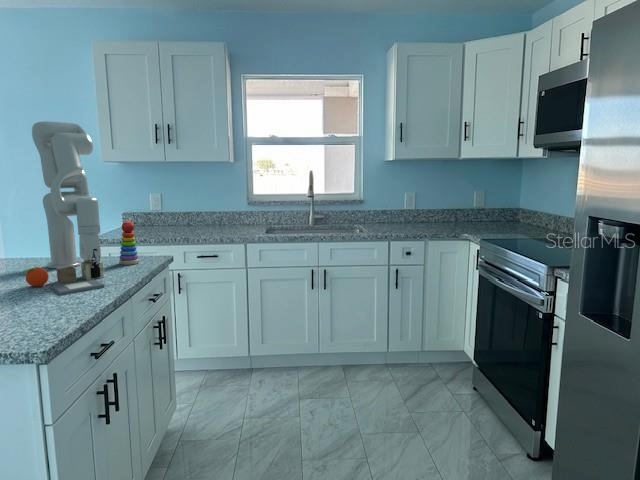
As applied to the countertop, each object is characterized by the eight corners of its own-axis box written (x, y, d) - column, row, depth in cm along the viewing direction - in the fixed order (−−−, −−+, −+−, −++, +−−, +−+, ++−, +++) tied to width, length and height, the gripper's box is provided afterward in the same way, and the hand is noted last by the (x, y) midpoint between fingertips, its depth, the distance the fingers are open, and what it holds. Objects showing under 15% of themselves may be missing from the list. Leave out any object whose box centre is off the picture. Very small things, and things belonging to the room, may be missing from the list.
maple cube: (82, 277, 171) (80, 262, 170) (98, 274, 175) (97, 259, 174) (87, 280, 167) (85, 264, 166) (103, 277, 171) (102, 262, 170)
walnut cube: (57, 281, 165) (56, 268, 164) (72, 279, 168) (71, 266, 167) (61, 284, 161) (60, 270, 160) (76, 281, 165) (75, 268, 164)
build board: (52, 289, 154) (51, 286, 154) (94, 281, 164) (94, 279, 164) (60, 295, 147) (60, 291, 147) (104, 287, 157) (104, 284, 157)
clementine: (29, 290, 152) (27, 270, 151) (19, 287, 156) (17, 268, 154) (53, 285, 159) (51, 266, 158) (43, 282, 162) (41, 263, 161)
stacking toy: (131, 265, 191) (129, 222, 188) (115, 264, 192) (112, 222, 189) (142, 261, 198) (140, 220, 195) (126, 261, 200) (124, 220, 197)
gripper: (71, 228, 171) (75, 273, 174) (86, 233, 159) (90, 281, 162) (91, 226, 176) (95, 270, 179) (107, 231, 164) (111, 278, 167)
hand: (92, 275), depth 171 cm, fingers closed on maple cube, 6 cm apart
